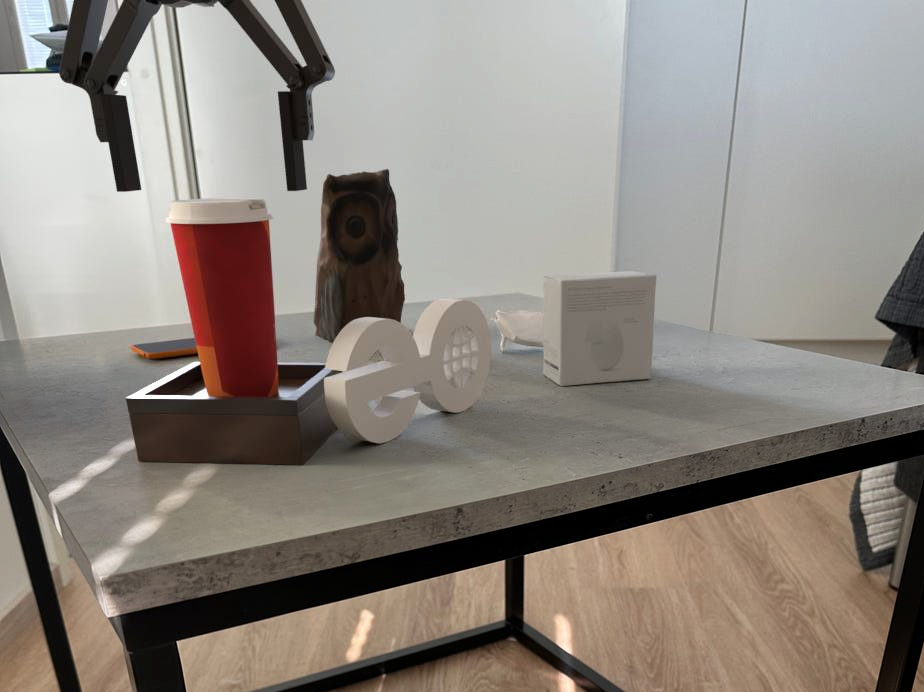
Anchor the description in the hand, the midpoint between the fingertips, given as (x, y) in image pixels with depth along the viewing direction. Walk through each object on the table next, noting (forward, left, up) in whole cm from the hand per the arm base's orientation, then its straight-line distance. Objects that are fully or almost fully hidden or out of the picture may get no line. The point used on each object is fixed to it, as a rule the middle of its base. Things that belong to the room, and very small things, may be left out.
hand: (212, 191), depth 72 cm
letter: (+14, +6, -20) cm, 25 cm away
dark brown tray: (0, 0, -20) cm, 20 cm away
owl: (-2, +49, -20) cm, 53 cm away
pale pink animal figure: (+23, +40, -20) cm, 50 cm away
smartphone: (-20, +40, -20) cm, 49 cm away
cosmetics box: (+30, +26, -20) cm, 44 cm away
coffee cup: (0, 0, -16) cm, 16 cm away
